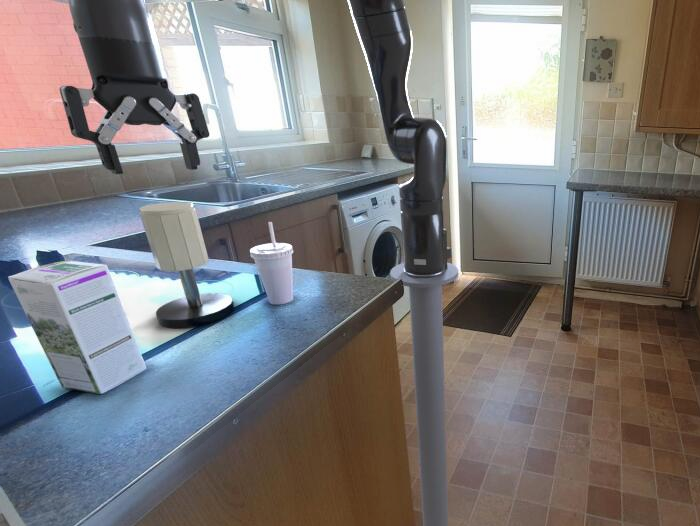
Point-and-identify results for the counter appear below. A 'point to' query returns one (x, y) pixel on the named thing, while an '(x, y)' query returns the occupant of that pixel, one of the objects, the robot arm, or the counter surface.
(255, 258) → the smoothie
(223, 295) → the towel holder
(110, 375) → the syrup box
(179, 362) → the counter surface
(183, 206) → the cup
